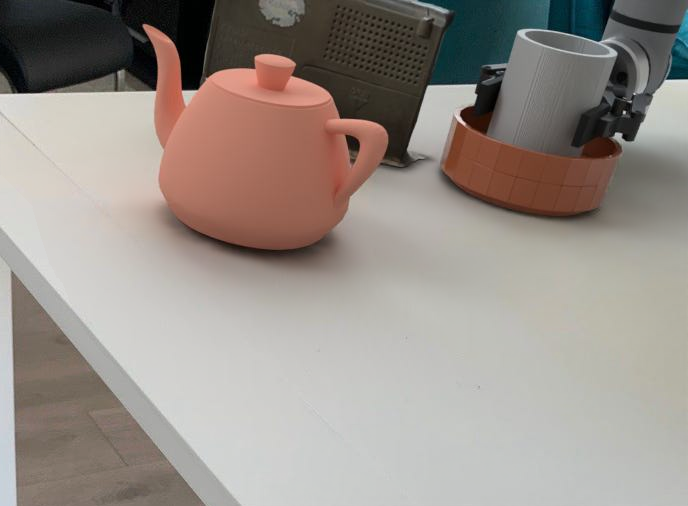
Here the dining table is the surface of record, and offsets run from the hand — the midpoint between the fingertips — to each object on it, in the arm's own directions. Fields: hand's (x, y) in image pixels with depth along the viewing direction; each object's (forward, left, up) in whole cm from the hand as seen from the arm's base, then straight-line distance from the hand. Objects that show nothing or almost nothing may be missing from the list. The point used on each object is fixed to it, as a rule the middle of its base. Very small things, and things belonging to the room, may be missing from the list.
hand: (529, 115), depth 93 cm
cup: (0, -4, -7) cm, 8 cm away
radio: (+21, 0, -8) cm, 22 cm away
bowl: (0, -4, -8) cm, 9 cm away
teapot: (+15, +27, -8) cm, 31 cm away
